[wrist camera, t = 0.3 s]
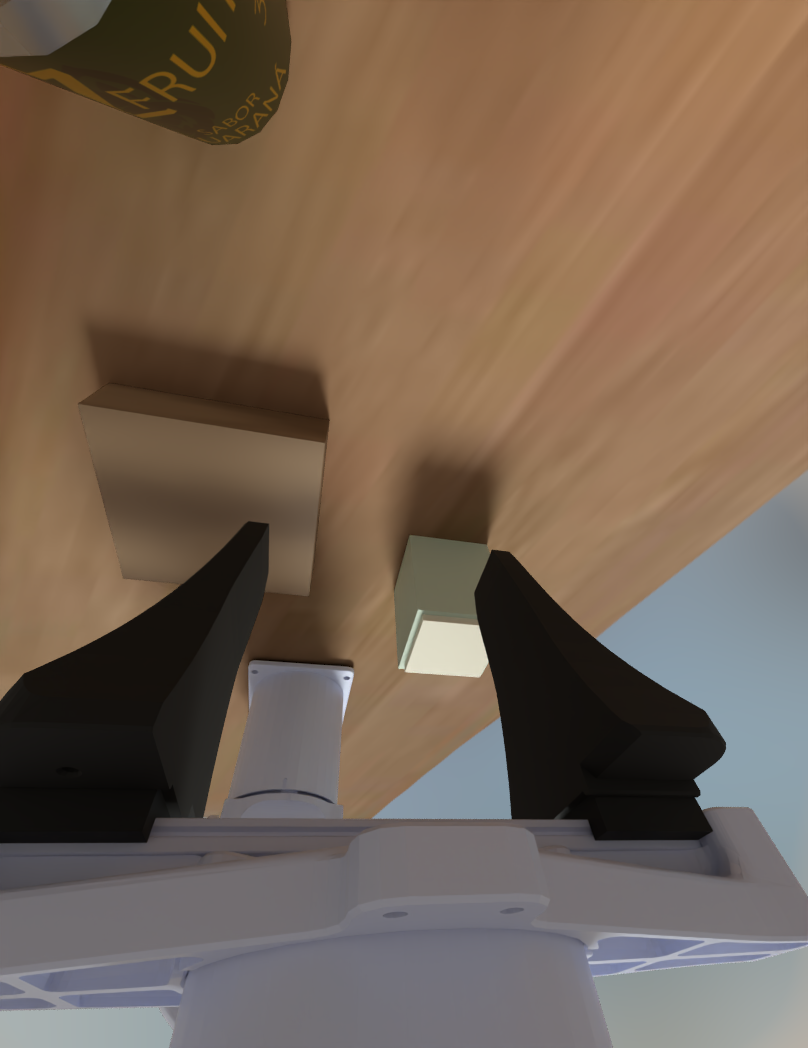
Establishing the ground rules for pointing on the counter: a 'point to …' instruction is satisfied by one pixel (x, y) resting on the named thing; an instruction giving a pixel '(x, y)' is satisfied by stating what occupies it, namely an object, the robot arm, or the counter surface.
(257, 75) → the beer can
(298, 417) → the walnut block
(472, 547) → the tea tin
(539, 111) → the counter surface
